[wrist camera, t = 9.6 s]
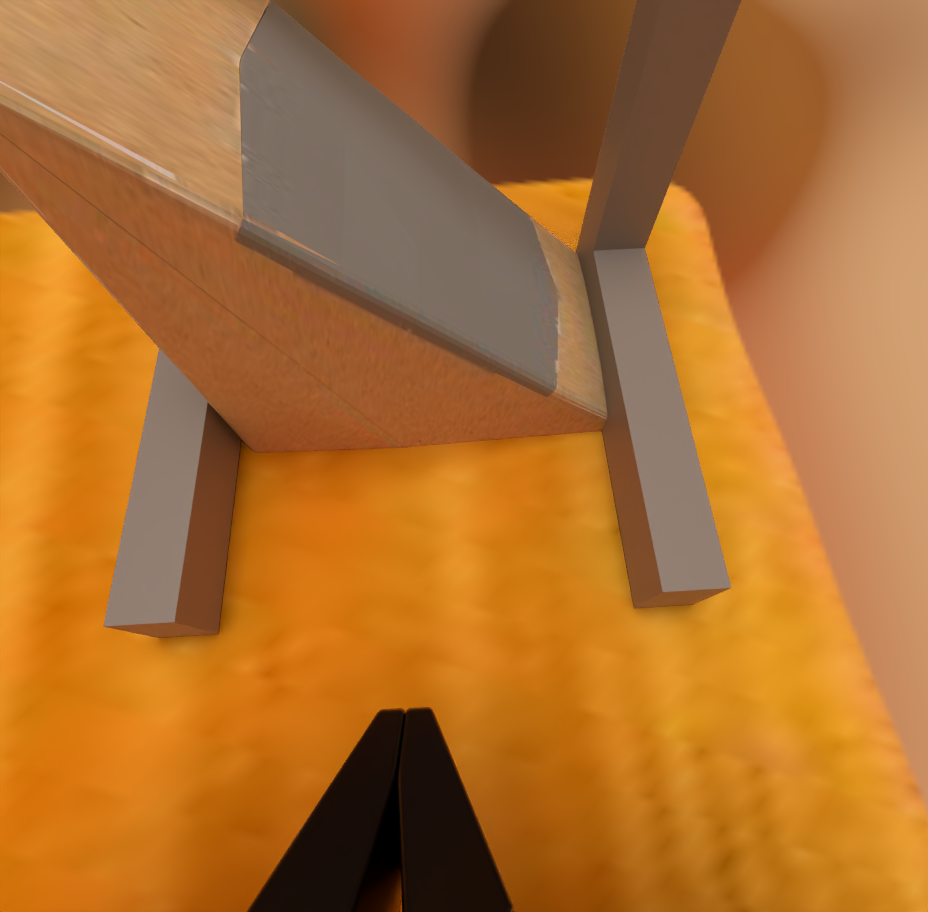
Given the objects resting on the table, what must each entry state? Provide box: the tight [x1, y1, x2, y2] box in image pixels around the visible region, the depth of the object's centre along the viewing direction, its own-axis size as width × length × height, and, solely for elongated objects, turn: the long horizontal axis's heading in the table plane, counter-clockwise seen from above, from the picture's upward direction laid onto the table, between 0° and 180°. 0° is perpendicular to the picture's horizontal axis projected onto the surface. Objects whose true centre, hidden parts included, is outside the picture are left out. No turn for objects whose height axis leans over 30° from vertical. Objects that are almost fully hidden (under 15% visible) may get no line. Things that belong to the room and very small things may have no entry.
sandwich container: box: [0, 0, 607, 452], centre depth 16 cm, size 9×15×15 cm, turn 94°
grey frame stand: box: [104, 0, 741, 638], centre depth 13 cm, size 15×18×19 cm
